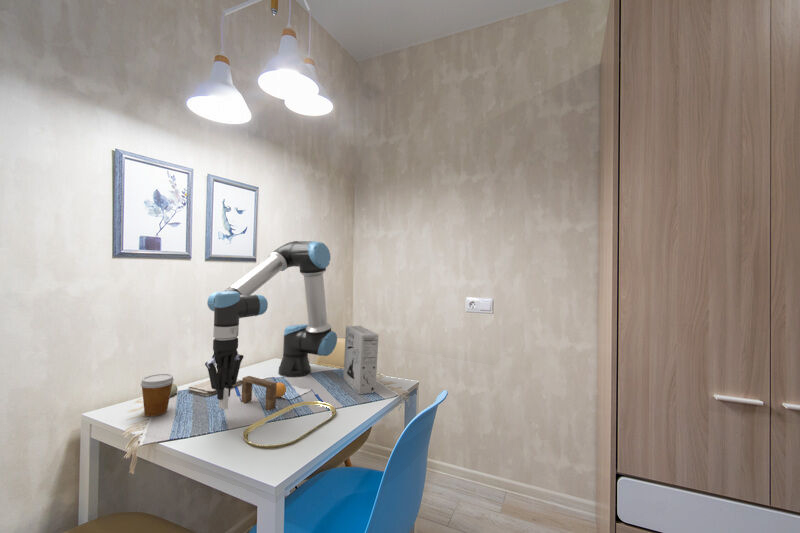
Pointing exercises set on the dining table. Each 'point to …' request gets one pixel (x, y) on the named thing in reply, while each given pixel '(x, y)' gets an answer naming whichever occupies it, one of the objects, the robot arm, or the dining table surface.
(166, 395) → the disposable coffee cup
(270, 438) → the dining table surface
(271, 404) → the bridge
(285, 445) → the oval ring
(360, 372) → the cereal box
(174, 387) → the sea urchin shell
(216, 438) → the dining table surface
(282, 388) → the ball
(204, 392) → the washcloth
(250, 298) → the robot arm
